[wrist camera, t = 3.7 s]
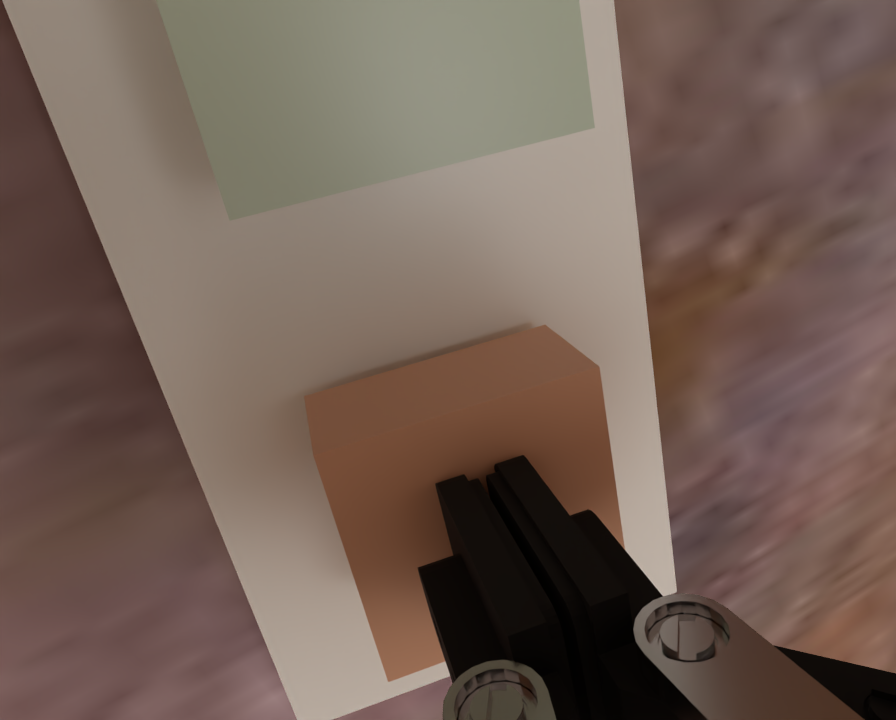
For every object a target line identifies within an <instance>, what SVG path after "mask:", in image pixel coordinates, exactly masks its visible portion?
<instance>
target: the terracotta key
mask: <svg viewBox="0 0 896 720" xmlns="http://www.w3.org/2000/svg"><path fill="white" fill-rule="evenodd" d="M304 400H305V406H306V412H307V419H308V425H309V431H310V438H311V444H312V450H313V456H314V459H315V462H316V465H317V468H318V471H319V474H320V477H321V480H322V483H323V486H324V489H325V492H326V495H327V498H328V501H329V504H330V508H331V511H332V514H333V517H334V520H335V523H336V526H337V529H338V532H339V535H340V538H341V541H342V544H343V547H344V550H345V553H346V556H347V559H348V562H349V565H350V568H351V571H352V574H353V577H354V580H355V583H356V586H357V589H358V592H359V595H360V598H361V601H362V604H363V607H364V610H365V613H366V616H367V620H368V623H369V626H370V629H371V632H372V635H373V638H374V641H375V644H376V647H377V650H378V653H379V656H380V659H381V662H382V665H383V668H384V671H385V674H386V677H387V680H388V682H390V681H393V680H396V679H399V678H401V677H404V676H407V675H410V674H412V673H415V672H418V671H420V670H423V669H426V668H429V667H431V666H434V665H437V664H440V663H442V662H445V659H444V656H443V653H442V649H441V646H440V643H439V640H438V637H437V634H436V631H435V627H434V624H433V621H432V618H431V614H430V611H429V608H428V604H427V601H426V597H425V594H424V590H423V587H422V583H421V580H420V576H419V572H418V567H421V566H424V565H427V564H430V563H432V562H435V561H438V560H441V559H444V558H447V557H450V556H453V552H452V549H451V545H450V541H449V537H448V533H447V529H446V525H445V521H444V517H443V514H442V510H441V506H440V502H439V498H438V494H437V490H436V486H435V483H438V482H441V481H444V480H447V479H450V478H453V477H456V476H459V475H462V474H465V476H466V477H467V479H468V481H470V480H473V479H476V478H478V479H479V480H480V482H481V484H482V485H483V487H484V489H485V491H486V492H487V494H488V496H489V497H490V495H489V491H488V486H487V482H486V475H488V474H492V473H495V470H494V465H495V464H496V463H499V462H503V461H506V460H509V459H512V458H515V457H518V456H521V455H524V456H525V457H526V458H527V459H528V461H529V462H530V463H531V465H532V466H533V467H534V469H535V470H536V471H537V473H538V474H539V475H540V477H541V478H542V479H543V481H544V482H545V483H546V485H547V486H548V487H549V489H550V490H551V491H552V493H553V494H554V495H555V496H556V498H557V499H558V500H559V502H560V503H561V504H562V506H563V507H564V508H565V510H566V511H567V512H568V514H569V515H573V514H576V513H579V512H581V511H584V510H587V509H589V510H592V511H593V512H594V513H595V514H596V515H597V516H598V518H599V519H600V520H601V521H602V523H603V524H604V525H605V526H606V527H607V529H608V530H609V531H610V532H611V533H612V535H613V536H614V537H615V538H616V540H617V541H618V542H619V543H620V544H621V546H622V547H623V548H624V549H625V546H624V539H623V532H622V525H621V518H620V510H619V503H618V496H617V489H616V482H615V474H614V467H613V460H612V453H611V446H610V438H609V431H608V424H607V417H606V410H605V403H604V395H603V388H602V381H601V374H600V367H599V366H598V365H597V364H596V363H594V362H593V361H592V360H590V359H589V358H588V357H586V356H585V355H584V354H583V353H581V352H580V351H579V350H577V349H576V348H575V347H574V346H572V345H571V344H570V343H568V342H567V341H566V340H564V339H563V338H562V337H561V336H559V335H558V334H557V333H555V332H554V331H553V330H552V329H550V328H549V327H548V326H546V325H542V326H539V327H535V328H532V329H528V330H525V331H522V332H518V333H515V334H512V335H508V336H505V337H502V338H498V339H495V340H491V341H488V342H485V343H481V344H478V345H475V346H471V347H468V348H465V349H461V350H458V351H454V352H451V353H448V354H444V355H441V356H438V357H434V358H431V359H428V360H424V361H421V362H417V363H414V364H411V365H407V366H404V367H401V368H397V369H394V370H390V371H387V372H384V373H380V374H377V375H374V376H370V377H367V378H364V379H360V380H357V381H353V382H350V383H347V384H343V385H340V386H337V387H333V388H330V389H327V390H323V391H320V392H316V393H313V394H310V395H306V396H304Z"/></svg>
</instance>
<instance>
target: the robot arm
mask: <svg viewBox="0 0 896 720" xmlns="http://www.w3.org/2000/svg"><path fill="white" fill-rule="evenodd" d="M494 470H495V473H492V474H488V475H486V482H487V486H488V491H489V495H490V497H489V496H488V494H487V492H486V491H485V489H484V487H483V485H482V484H481V482H480V480H479V479H478V478H476V479H473V480H470V481H468V479H467V477H466V476H465V474H462V475H459V476H456V477H453V478H450V479H447V480H444V481H441V482H438V483H435V486H436V490H437V494H438V498H439V502H440V506H441V510H442V514H443V517H444V521H445V525H446V529H447V533H448V537H449V541H450V545H451V549H452V552H453V556H450V557H447V558H444V559H441V560H438V561H435V562H432V563H430V564H427V565H424V566H421V567H418V572H419V576H420V580H421V583H422V587H423V590H424V594H425V597H426V601H427V604H428V608H429V611H430V614H431V618H432V621H433V624H434V627H435V631H436V634H437V637H438V640H439V643H440V646H441V649H442V653H443V656H444V659H445V662H446V665H447V668H448V670H449V673H450V676H451V679H452V682H453V684H452V685H451V687H450V688H449V690H448V692H447V695H446V697H445V699H444V704H443V720H896V674H895V673H891V672H887V671H882V670H878V669H874V668H869V667H865V666H861V665H856V664H852V663H848V662H843V661H839V660H835V659H830V658H826V657H821V656H817V655H813V654H808V653H804V652H800V651H795V650H791V649H787V648H782V647H778V646H774V645H772V644H771V643H770V642H768V641H767V640H766V639H765V638H763V637H762V636H761V635H760V634H758V633H757V632H756V631H755V630H754V629H752V628H751V627H750V626H749V625H747V624H746V623H745V622H744V621H742V620H741V619H740V618H739V617H738V616H736V615H735V614H734V613H733V612H731V611H730V610H729V609H728V608H726V607H725V606H723V605H721V604H720V603H718V602H716V601H715V600H712V599H709V598H706V597H703V596H700V595H694V594H684V593H682V594H673V595H666V596H662V594H661V593H660V592H659V591H658V589H657V588H656V587H655V586H654V585H653V583H652V582H651V581H650V580H649V579H648V577H647V576H646V575H645V574H644V572H643V571H642V570H641V569H640V568H639V566H638V565H637V564H636V563H635V561H634V560H633V559H632V558H631V557H630V555H629V554H628V553H627V552H626V551H625V549H624V548H623V547H622V546H621V544H620V543H619V542H618V541H617V540H616V538H615V537H614V536H613V535H612V533H611V532H610V531H609V530H608V529H607V527H606V526H605V525H604V524H603V523H602V521H601V520H600V519H599V518H598V516H597V515H596V514H595V513H594V512H593V511H592V510H589V509H587V510H584V511H581V512H579V513H576V514H573V515H569V514H568V512H567V511H566V510H565V508H564V507H563V506H562V504H561V503H560V502H559V500H558V499H557V498H556V496H555V495H554V494H553V493H552V491H551V490H550V489H549V487H548V486H547V485H546V483H545V482H544V481H543V479H542V478H541V477H540V475H539V474H538V473H537V471H536V470H535V469H534V467H533V466H532V465H531V463H530V462H529V461H528V459H527V458H526V457H525V456H524V455H521V456H518V457H515V458H512V459H509V460H506V461H503V462H499V463H496V464H495V465H494Z"/></svg>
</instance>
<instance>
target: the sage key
mask: <svg viewBox="0 0 896 720" xmlns="http://www.w3.org/2000/svg"><path fill="white" fill-rule="evenodd" d="M156 2H157V5H158V8H159V11H160V14H161V17H162V20H163V23H164V26H165V29H166V32H167V35H168V38H169V41H170V44H171V47H172V50H173V53H174V56H175V59H176V62H177V65H178V68H179V71H180V74H181V77H182V80H183V83H184V86H185V89H186V92H187V95H188V98H189V101H190V104H191V107H192V110H193V113H194V115H195V118H196V121H197V124H198V127H199V130H200V133H201V136H202V139H203V142H204V145H205V148H206V151H207V154H208V157H209V160H210V163H211V166H212V169H213V172H214V175H215V178H216V181H217V184H218V187H219V190H220V193H221V196H222V199H223V202H224V205H225V208H226V211H227V214H228V217H229V220H230V221H231V220H235V219H239V218H242V217H246V216H250V215H254V214H258V213H262V212H266V211H270V210H274V209H278V208H282V207H286V206H290V205H294V204H297V203H301V202H305V201H309V200H313V199H317V198H321V197H325V196H329V195H333V194H337V193H341V192H345V191H349V190H353V189H356V188H360V187H364V186H368V185H372V184H376V183H380V182H384V181H388V180H392V179H396V178H400V177H404V176H408V175H412V174H415V173H419V172H423V171H427V170H431V169H435V168H439V167H443V166H447V165H451V164H455V163H459V162H463V161H467V160H471V159H474V158H478V157H482V156H486V155H490V154H494V153H498V152H502V151H506V150H510V149H514V148H518V147H522V146H526V145H529V144H533V143H537V142H541V141H545V140H549V139H553V138H557V137H561V136H565V135H569V134H573V133H577V132H581V131H585V130H588V129H592V128H595V125H594V117H593V109H592V101H591V93H590V85H589V77H588V69H587V60H586V52H585V44H584V36H583V28H582V20H581V12H580V4H579V0H156Z"/></svg>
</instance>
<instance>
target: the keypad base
mask: <svg viewBox="0 0 896 720" xmlns="http://www.w3.org/2000/svg"><path fill="white" fill-rule="evenodd" d="M2 1H3V4H4V6H5V9H6V11H7V13H8V16H9V18H10V21H11V23H12V26H13V28H14V31H15V33H16V35H17V38H18V40H19V43H20V45H21V48H22V50H23V53H24V55H25V57H26V60H27V62H28V65H29V67H30V70H31V72H32V74H33V77H34V79H35V82H36V84H37V87H38V89H39V92H40V94H41V96H42V99H43V101H44V104H45V106H46V109H47V111H48V113H49V116H50V118H51V121H52V123H53V126H54V128H55V131H56V133H57V135H58V138H59V140H60V143H61V145H62V148H63V150H64V152H65V155H66V157H67V160H68V162H69V165H70V167H71V170H72V172H73V174H74V177H75V179H76V182H77V184H78V187H79V189H80V191H81V194H82V196H83V199H84V201H85V204H86V206H87V209H88V211H89V213H90V216H91V218H92V221H93V223H94V226H95V228H96V231H97V233H98V235H99V238H100V240H101V243H102V245H103V248H104V250H105V252H106V255H107V257H108V260H109V262H110V265H111V267H112V270H113V272H114V274H115V277H116V279H117V282H118V284H119V287H120V289H121V291H122V294H123V296H124V299H125V301H126V304H127V306H128V309H129V311H130V313H131V316H132V318H133V321H134V323H135V326H136V328H137V330H138V333H139V335H140V338H141V340H142V343H143V345H144V348H145V350H146V352H147V355H148V357H149V360H150V362H151V365H152V367H153V369H154V372H155V374H156V377H157V379H158V382H159V384H160V387H161V389H162V391H163V394H164V396H165V399H166V401H167V404H168V406H169V409H170V411H171V413H172V416H173V418H174V421H175V423H176V426H177V428H178V430H179V433H180V435H181V438H182V440H183V443H184V445H185V448H186V450H187V452H188V455H189V457H190V460H191V462H192V465H193V467H194V469H195V472H196V474H197V477H198V479H199V482H200V484H201V487H202V489H203V491H204V494H205V496H206V499H207V501H208V504H209V506H210V508H211V511H212V513H213V516H214V518H215V521H216V523H217V526H218V528H219V530H220V533H221V535H222V538H223V540H224V543H225V545H226V547H227V550H228V552H229V555H230V557H231V560H232V562H233V565H234V567H235V569H236V572H237V574H238V577H239V579H240V582H241V584H242V587H243V589H244V591H245V594H246V596H247V599H248V601H249V604H250V606H251V608H252V611H253V613H254V616H255V618H256V621H257V623H258V626H259V628H260V630H261V633H262V635H263V638H264V640H265V643H266V645H267V647H268V650H269V652H270V655H271V657H272V660H273V662H274V665H275V667H276V669H277V672H278V674H279V677H280V679H281V682H282V684H283V686H284V689H285V691H286V694H287V696H288V699H289V701H290V704H291V706H292V708H293V711H294V713H295V716H296V718H297V720H333V719H335V718H338V717H341V716H344V715H346V714H349V713H352V712H354V711H357V710H360V709H362V708H365V707H368V706H370V705H373V704H376V703H379V702H381V701H384V700H387V699H389V698H392V697H395V696H397V695H400V694H403V693H406V692H408V691H411V690H414V689H416V688H419V687H422V686H424V685H427V684H430V683H433V682H435V681H438V680H441V679H443V678H446V677H449V676H450V673H449V670H448V668H447V665H446V662H442V663H440V664H437V665H434V666H431V667H429V668H426V669H423V670H420V671H418V672H415V673H412V674H410V675H407V676H404V677H401V678H399V679H396V680H393V681H390V682H388V680H387V677H386V674H385V671H384V668H383V665H382V662H381V659H380V656H379V653H378V650H377V647H376V644H375V641H374V638H373V635H372V632H371V629H370V626H369V623H368V620H367V616H366V613H365V610H364V607H363V604H362V601H361V598H360V595H359V592H358V589H357V586H356V583H355V580H354V577H353V574H352V571H351V568H350V565H349V562H348V559H347V556H346V553H345V550H344V547H343V544H342V541H341V538H340V535H339V532H338V529H337V526H336V523H335V520H334V517H333V514H332V511H331V508H330V504H329V501H328V498H327V495H326V492H325V489H324V486H323V483H322V480H321V477H320V474H319V471H318V468H317V465H316V462H315V459H314V456H313V450H312V444H311V438H310V431H309V425H308V419H307V412H306V406H305V400H304V396H306V395H310V394H313V393H316V392H320V391H323V390H327V389H330V388H333V387H337V386H340V385H343V384H347V383H350V382H353V381H357V380H360V379H364V378H367V377H370V376H374V375H377V374H380V373H384V372H387V371H390V370H394V369H397V368H401V367H404V366H407V365H411V364H414V363H417V362H421V361H424V360H428V359H431V358H434V357H438V356H441V355H444V354H448V353H451V352H454V351H458V350H461V349H465V348H468V347H471V346H475V345H478V344H481V343H485V342H488V341H491V340H495V339H498V338H502V337H505V336H508V335H512V334H515V333H518V332H522V331H525V330H528V329H532V328H535V327H539V326H542V325H546V326H548V327H549V328H550V329H552V330H553V331H554V332H555V333H557V334H558V335H559V336H561V337H562V338H563V339H564V340H566V341H567V342H568V343H570V344H571V345H572V346H574V347H575V348H576V349H577V350H579V351H580V352H581V353H583V354H584V355H585V356H586V357H588V358H589V359H590V360H592V361H593V362H594V363H596V364H597V365H598V366H599V367H600V374H601V381H602V388H603V395H604V403H605V410H606V417H607V424H608V431H609V438H610V446H611V453H612V460H613V467H614V474H615V482H616V489H617V496H618V503H619V510H620V518H621V525H622V532H623V539H624V546H625V551H626V552H627V553H628V554H629V555H630V557H631V558H632V559H633V560H634V561H635V563H636V564H637V565H638V566H639V568H640V569H641V570H642V571H643V572H644V574H645V575H646V576H647V577H648V579H649V580H650V581H651V582H652V583H653V585H654V586H655V587H656V588H657V589H658V591H659V592H660V593H661V594H662V596H666V595H670V594H673V593H675V592H677V589H676V580H675V570H674V561H673V552H672V542H671V533H670V523H669V514H668V505H667V495H666V486H665V477H664V467H663V458H662V448H661V439H660V430H659V420H658V411H657V402H656V392H655V383H654V373H653V364H652V355H651V345H650V336H649V327H648V317H647V308H646V299H645V289H644V280H643V270H642V261H641V252H640V242H639V233H638V224H637V214H636V205H635V195H634V186H633V177H632V167H631V158H630V149H629V139H628V130H627V120H626V111H625V102H624V92H623V83H622V74H621V64H620V55H619V46H618V36H617V27H616V17H615V8H614V0H579V4H580V12H581V20H582V28H583V36H584V44H585V52H586V60H587V69H588V77H589V85H590V93H591V101H592V109H593V117H594V125H595V128H592V129H588V130H585V131H581V132H577V133H573V134H569V135H565V136H561V137H557V138H553V139H549V140H545V141H541V142H537V143H533V144H529V145H526V146H522V147H518V148H514V149H510V150H506V151H502V152H498V153H494V154H490V155H486V156H482V157H478V158H474V159H471V160H467V161H463V162H459V163H455V164H451V165H447V166H443V167H439V168H435V169H431V170H427V171H423V172H419V173H415V174H412V175H408V176H404V177H400V178H396V179H392V180H388V181H384V182H380V183H376V184H372V185H368V186H364V187H360V188H356V189H353V190H349V191H345V192H341V193H337V194H333V195H329V196H325V197H321V198H317V199H313V200H309V201H305V202H301V203H297V204H294V205H290V206H286V207H282V208H278V209H274V210H270V211H266V212H262V213H258V214H254V215H250V216H246V217H242V218H239V219H235V220H231V221H230V220H229V217H228V214H227V211H226V208H225V205H224V202H223V199H222V196H221V193H220V190H219V187H218V184H217V181H216V178H215V175H214V172H213V169H212V166H211V163H210V160H209V157H208V154H207V151H206V148H205V145H204V142H203V139H202V136H201V133H200V130H199V127H198V124H197V121H196V118H195V115H194V113H193V110H192V107H191V104H190V101H189V98H188V95H187V92H186V89H185V86H184V83H183V80H182V77H181V74H180V71H179V68H178V65H177V62H176V59H175V56H174V53H173V50H172V47H171V44H170V41H169V38H168V35H167V32H166V29H165V26H164V23H163V20H162V17H161V14H160V11H159V8H158V5H157V2H156V0H2Z"/></svg>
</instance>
